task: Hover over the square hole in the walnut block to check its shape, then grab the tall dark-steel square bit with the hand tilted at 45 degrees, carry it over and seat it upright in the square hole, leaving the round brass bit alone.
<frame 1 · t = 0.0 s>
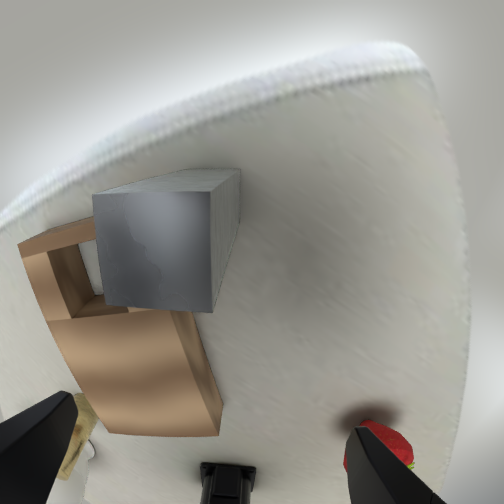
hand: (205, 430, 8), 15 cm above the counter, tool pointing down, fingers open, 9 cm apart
strawberry: (366, 419, 27), on the counter
round bit: (87, 405, 28), on the counter
square bit: (213, 195, 21), on the counter
socket block: (132, 326, 24), on the counter
jar: (68, 436, 31), on the counter
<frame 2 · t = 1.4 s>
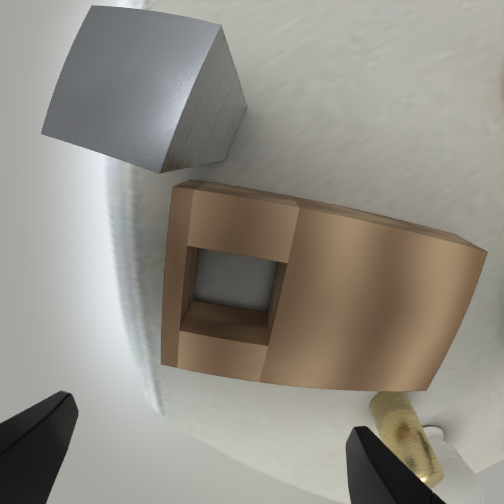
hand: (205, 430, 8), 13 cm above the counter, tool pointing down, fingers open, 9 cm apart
round bit: (387, 401, 24), on the counter
square bit: (208, 123, 18), on the counter
socket block: (321, 286, 21), on the counter
jar: (409, 446, 27), on the counter
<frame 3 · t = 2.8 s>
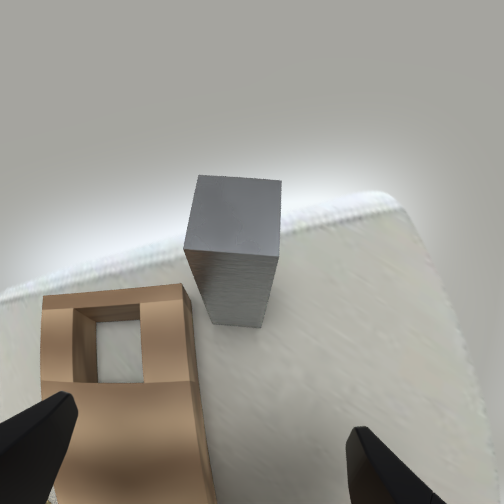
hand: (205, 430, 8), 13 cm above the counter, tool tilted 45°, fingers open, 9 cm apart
square bit: (238, 303, 24), on the counter
socket block: (132, 426, 19), on the counter
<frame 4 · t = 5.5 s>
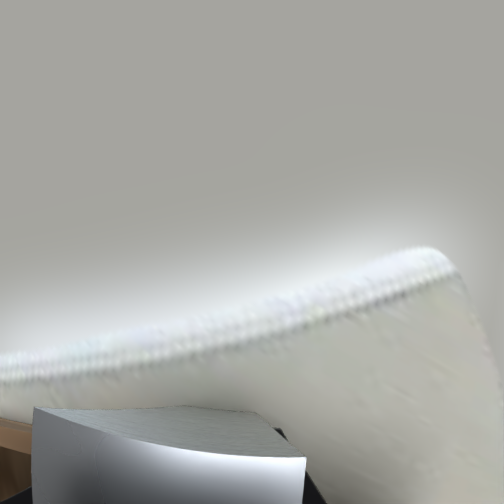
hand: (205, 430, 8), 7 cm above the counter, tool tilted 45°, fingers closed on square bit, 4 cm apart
square bit: (217, 442, 13), on the counter, touching gripper
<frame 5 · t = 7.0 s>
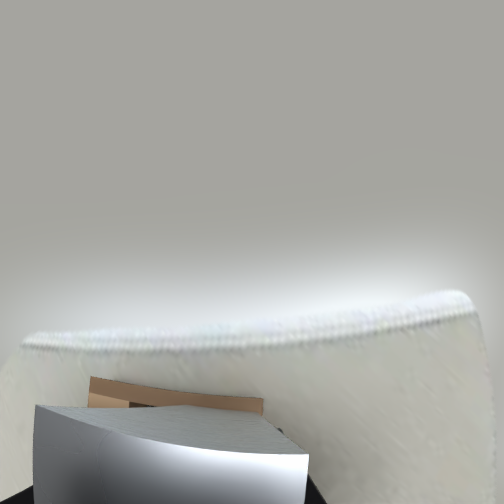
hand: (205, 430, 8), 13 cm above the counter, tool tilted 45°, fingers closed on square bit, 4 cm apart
square bit: (218, 442, 13), point 7 cm above the counter, touching gripper
when the fingers open (9 cm above the counter, at t = 8.4 s): square bit drops 2 cm, resting in socket block.
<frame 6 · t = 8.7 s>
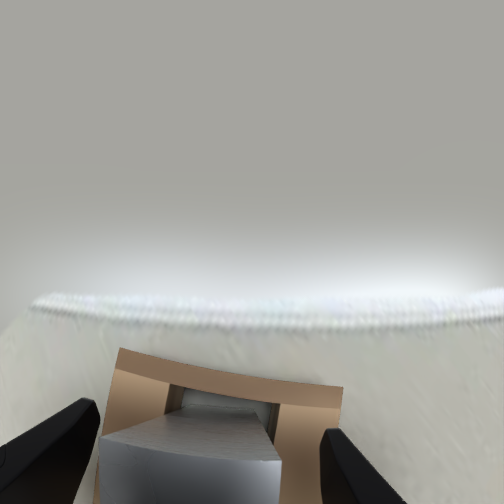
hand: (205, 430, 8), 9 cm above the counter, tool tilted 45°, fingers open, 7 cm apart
square bit: (220, 435, 15), resting in socket block
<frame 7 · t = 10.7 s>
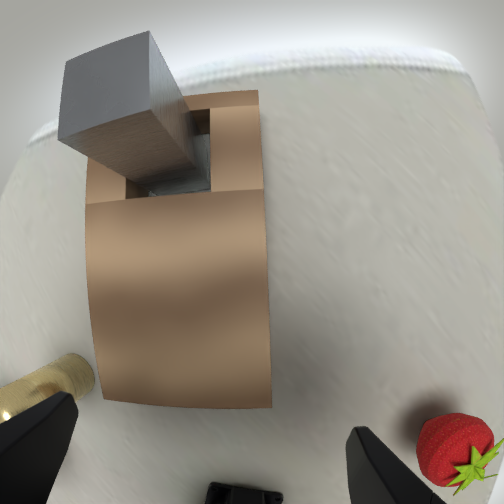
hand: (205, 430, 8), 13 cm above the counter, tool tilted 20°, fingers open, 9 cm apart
strawberry: (427, 421, 21), on the counter
round bit: (76, 373, 21), on the counter
square bit: (183, 168, 21), resting in socket block
socket block: (184, 252, 21), on the counter
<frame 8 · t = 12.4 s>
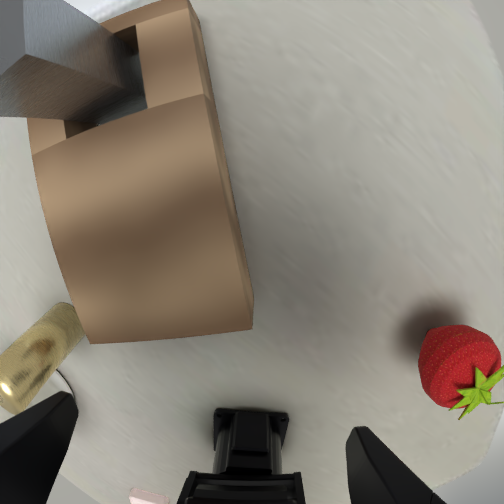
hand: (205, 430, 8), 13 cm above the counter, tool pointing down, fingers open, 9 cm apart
strawberry: (430, 329, 22), on the counter
round bit: (68, 321, 22), on the counter
square bit: (126, 90, 17), resting in socket block
soap bar: (152, 500, 33), on the counter
socket block: (141, 175, 19), on the counter
jar: (44, 381, 25), on the counter
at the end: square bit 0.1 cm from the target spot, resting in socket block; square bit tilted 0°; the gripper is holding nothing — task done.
